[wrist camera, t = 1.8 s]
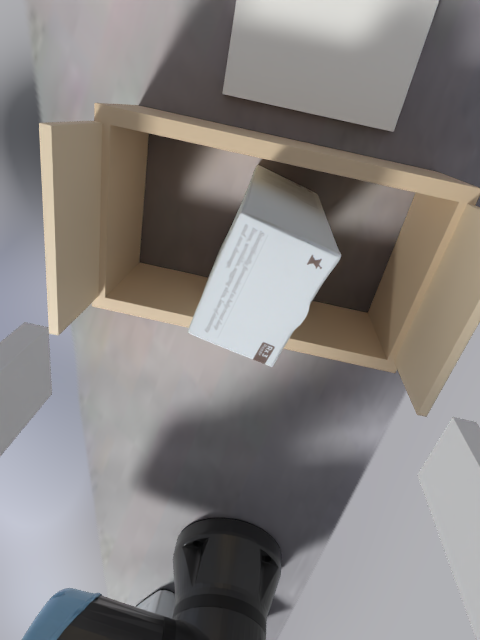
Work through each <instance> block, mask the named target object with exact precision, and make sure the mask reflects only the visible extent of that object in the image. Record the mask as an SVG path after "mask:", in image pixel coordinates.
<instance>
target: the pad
mask: <svg viewBox="0 0 480 640" xmlns="http://www.w3.org/2000/svg"><path fill="white" fill-rule="evenodd" d="M438 3H439V0H236V6H235V13H234V19H233V26H232V33H231V39H230V46H229V53H228V60H227V66H226V73H225V80H224V86H223V93H222V94H224V95H229V96H233V97H238V98H242V99H247V100H251V101H256V102H260V103H265V104H269V105H274V106H278V107H283V108H287V109H292V110H296V111H301V112H305V113H310V114H314V115H319V116H323V117H328V118H332V119H337V120H341V121H346V122H350V123H355V124H359V125H364V126H368V127H373V128H377V129H382V130H386V131H391V132H394V129H395V127H396V124H397V121H398V118H399V115H400V112H401V109H402V106H403V103H404V101H405V98H406V95H407V92H408V89H409V86H410V83H411V80H412V78H413V75H414V72H415V69H416V66H417V63H418V60H419V57H420V54H421V52H422V49H423V46H424V43H425V40H426V37H427V34H428V31H429V28H430V26H431V23H432V20H433V17H434V14H435V11H436V8H437V5H438Z"/></svg>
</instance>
